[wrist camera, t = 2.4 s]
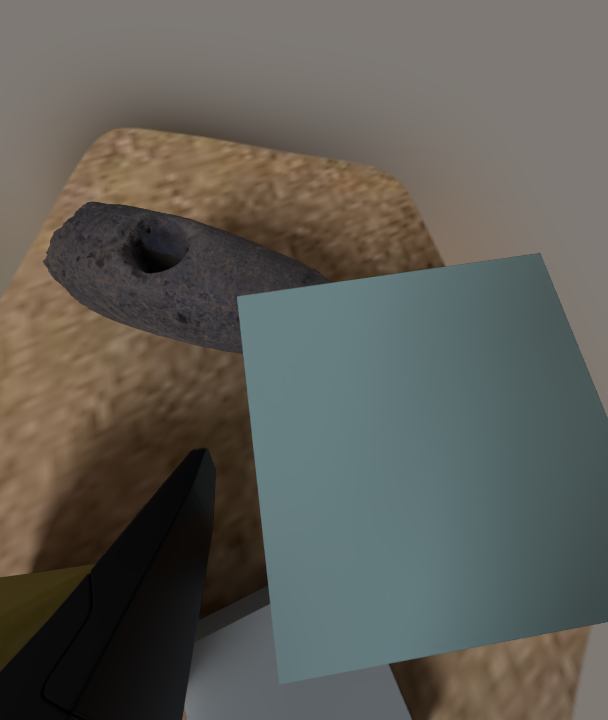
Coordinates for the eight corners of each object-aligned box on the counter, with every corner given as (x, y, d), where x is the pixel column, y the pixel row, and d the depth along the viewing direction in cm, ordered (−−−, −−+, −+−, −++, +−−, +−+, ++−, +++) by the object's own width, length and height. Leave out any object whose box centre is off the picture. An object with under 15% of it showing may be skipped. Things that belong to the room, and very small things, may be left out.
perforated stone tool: (378, 320, 18) (421, 250, 11) (357, 403, 17) (392, 379, 10) (151, 258, 19) (70, 163, 13) (116, 332, 18) (3, 269, 11)
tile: (420, 737, 13) (440, 789, 11) (250, 838, 12) (239, 912, 10) (341, 548, 15) (346, 564, 13) (188, 625, 14) (170, 654, 12)
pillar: (384, 473, 16) (685, 607, 3) (300, 487, 16) (279, 685, 3) (366, 390, 17) (539, 253, 4) (288, 402, 17) (236, 296, 4)
